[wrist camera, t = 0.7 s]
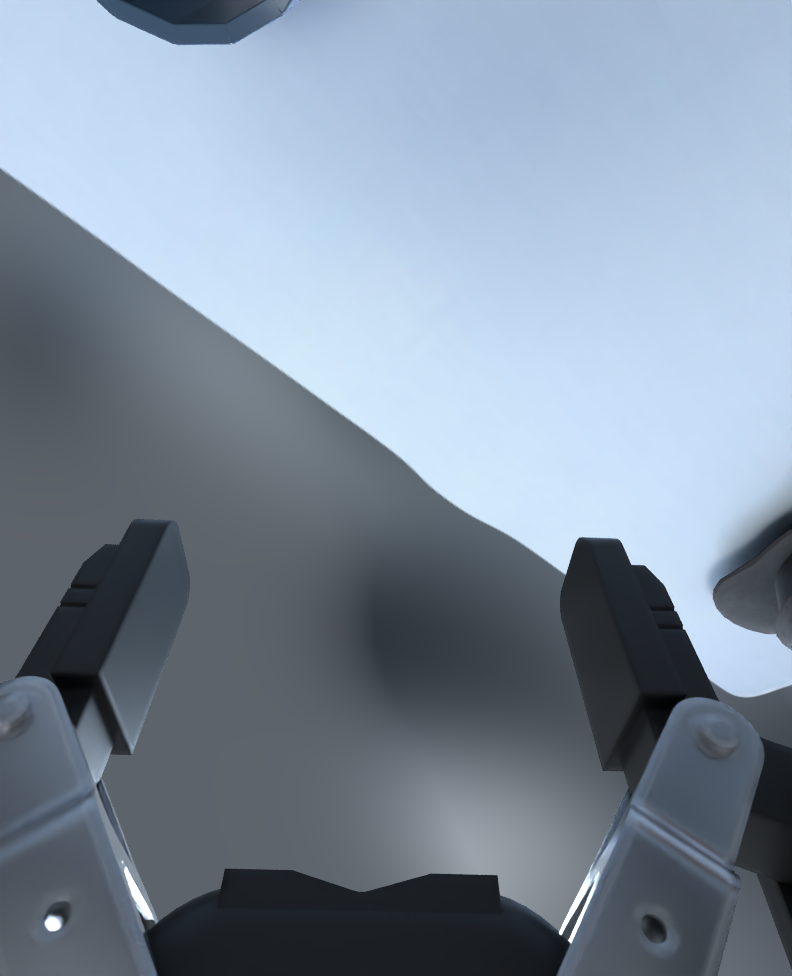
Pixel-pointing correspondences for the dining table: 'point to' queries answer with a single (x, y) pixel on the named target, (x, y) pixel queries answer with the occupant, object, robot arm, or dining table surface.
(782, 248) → the dining table surface
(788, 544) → the casserole
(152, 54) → the dining table surface
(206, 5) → the blue faceted canister
